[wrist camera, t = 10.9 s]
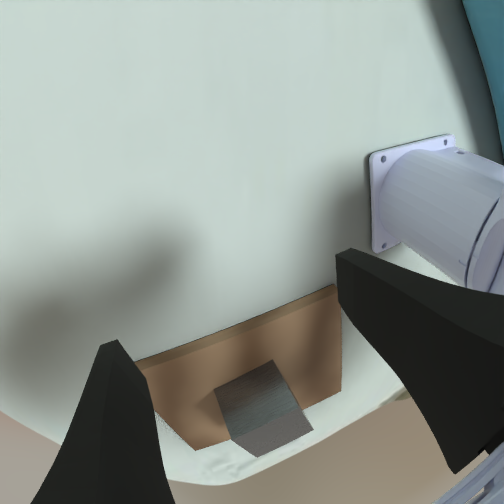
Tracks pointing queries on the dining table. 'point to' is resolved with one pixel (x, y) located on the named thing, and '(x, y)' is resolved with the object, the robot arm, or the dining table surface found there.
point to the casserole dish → (490, 48)
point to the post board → (248, 364)
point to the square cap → (261, 410)
